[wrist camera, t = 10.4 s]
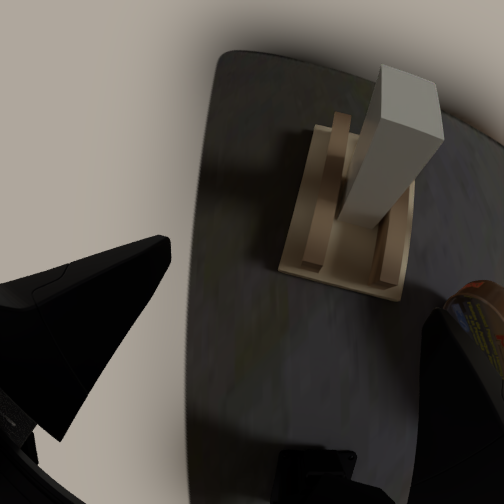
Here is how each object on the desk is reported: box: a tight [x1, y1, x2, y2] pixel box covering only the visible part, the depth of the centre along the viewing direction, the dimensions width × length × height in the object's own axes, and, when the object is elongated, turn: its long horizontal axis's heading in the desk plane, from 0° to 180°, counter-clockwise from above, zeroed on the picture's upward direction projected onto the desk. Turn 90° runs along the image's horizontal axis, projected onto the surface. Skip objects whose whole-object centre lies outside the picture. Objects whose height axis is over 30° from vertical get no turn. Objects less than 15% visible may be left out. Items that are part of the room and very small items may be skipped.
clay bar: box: [337, 65, 444, 229], centre depth 16 cm, size 4×3×12 cm
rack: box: [278, 112, 415, 302], centre depth 21 cm, size 14×10×4 cm
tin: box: [443, 280, 504, 380], centre depth 14 cm, size 15×3×8 cm, turn 28°
